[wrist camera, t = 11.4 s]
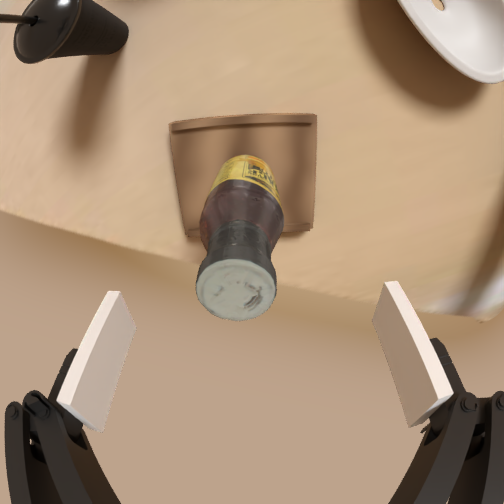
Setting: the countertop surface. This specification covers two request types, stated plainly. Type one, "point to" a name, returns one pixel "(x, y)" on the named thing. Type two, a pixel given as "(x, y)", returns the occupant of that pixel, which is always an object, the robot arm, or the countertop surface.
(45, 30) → the drinking cup
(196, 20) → the countertop surface
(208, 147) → the board
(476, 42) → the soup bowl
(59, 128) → the countertop surface
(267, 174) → the sauce bottle
